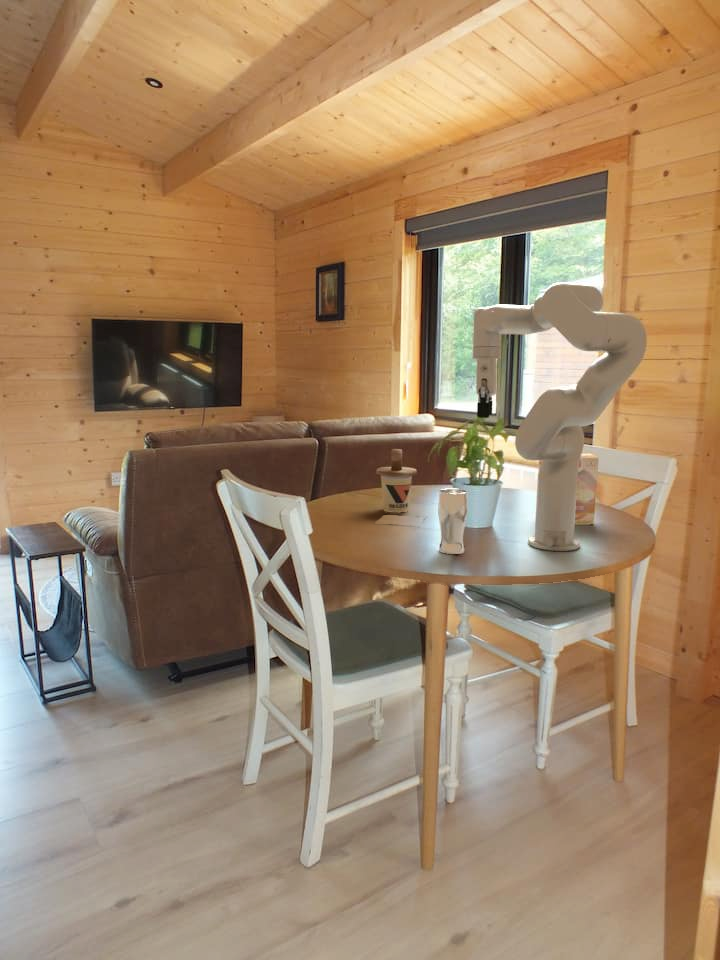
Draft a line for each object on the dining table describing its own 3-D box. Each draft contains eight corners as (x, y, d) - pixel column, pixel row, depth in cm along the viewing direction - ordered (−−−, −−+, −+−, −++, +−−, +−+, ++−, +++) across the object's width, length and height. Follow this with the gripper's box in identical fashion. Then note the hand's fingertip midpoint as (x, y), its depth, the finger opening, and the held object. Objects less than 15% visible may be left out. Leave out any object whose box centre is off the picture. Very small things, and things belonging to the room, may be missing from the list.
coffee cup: (385, 516, 209) (385, 476, 206) (376, 509, 217) (377, 471, 215) (415, 514, 211) (416, 475, 209) (406, 508, 220) (406, 470, 217)
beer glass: (470, 554, 170) (472, 493, 167) (443, 556, 168) (445, 494, 165) (458, 546, 177) (460, 487, 174) (432, 548, 175) (434, 488, 172)
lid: (412, 477, 205) (412, 453, 203) (372, 475, 208) (372, 451, 207) (419, 470, 216) (420, 448, 215) (381, 469, 219) (381, 446, 218)
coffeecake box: (541, 525, 199) (545, 456, 195) (535, 519, 206) (538, 452, 202) (594, 525, 199) (599, 456, 196) (586, 519, 206) (590, 453, 203)
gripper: (498, 353, 185) (496, 419, 188) (502, 353, 202) (500, 413, 205) (469, 353, 187) (467, 418, 190) (476, 353, 204) (474, 413, 207)
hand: (484, 416), depth 197 cm, fingers open, 9 cm apart
